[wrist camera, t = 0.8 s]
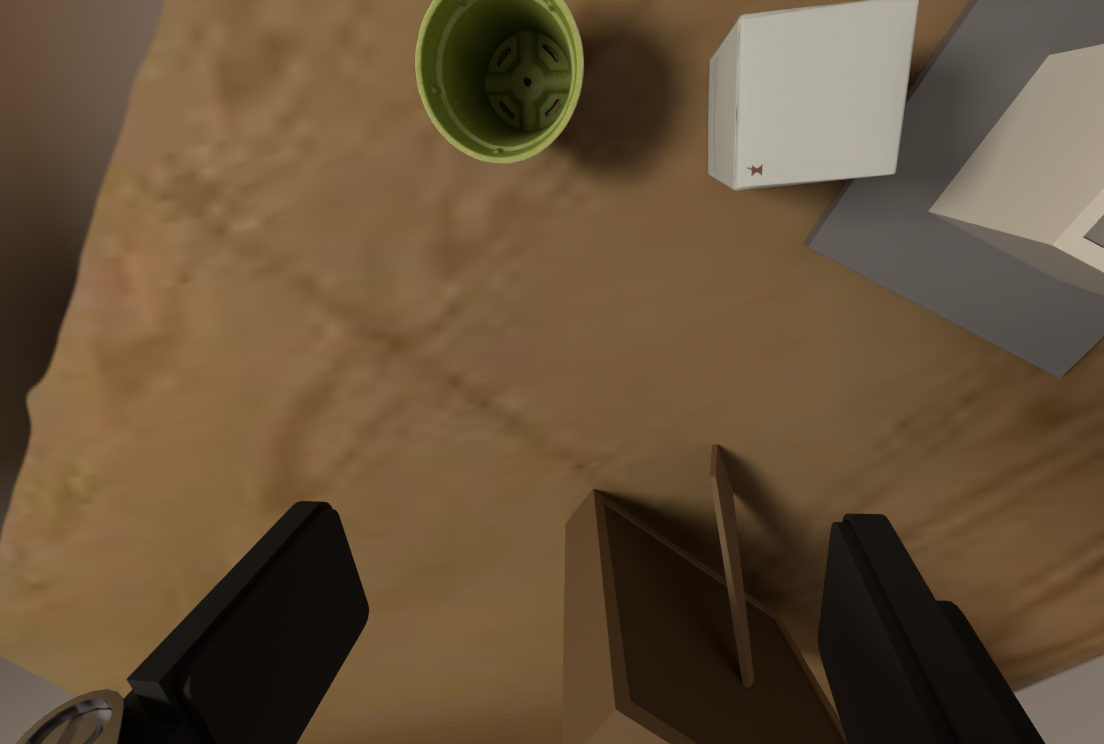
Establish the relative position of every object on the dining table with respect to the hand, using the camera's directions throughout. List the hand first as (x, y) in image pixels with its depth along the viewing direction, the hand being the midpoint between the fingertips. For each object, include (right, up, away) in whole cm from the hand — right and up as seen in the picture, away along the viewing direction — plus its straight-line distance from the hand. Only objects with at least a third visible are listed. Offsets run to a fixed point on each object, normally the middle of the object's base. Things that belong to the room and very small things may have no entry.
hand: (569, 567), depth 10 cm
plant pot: (-2, +24, +27) cm, 36 cm away
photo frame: (+14, -11, +39) cm, 43 cm away
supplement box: (+14, +21, +25) cm, 35 cm away
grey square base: (+31, +16, +24) cm, 42 cm away
